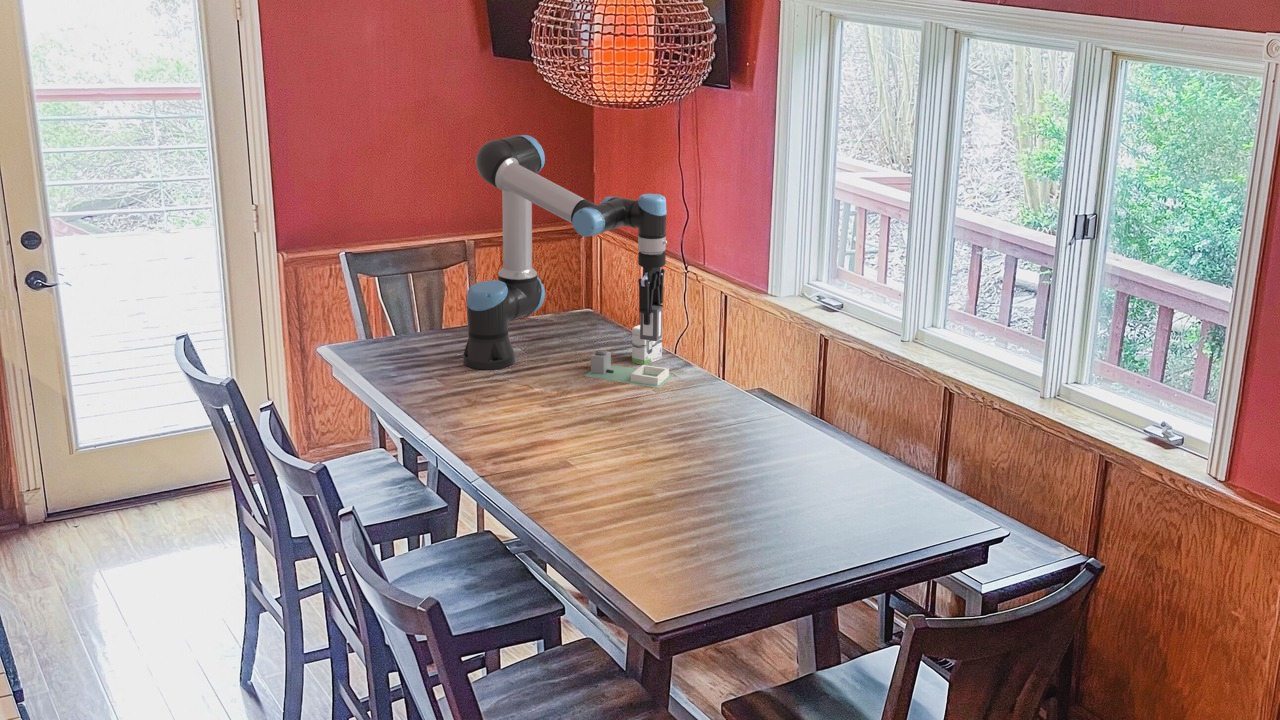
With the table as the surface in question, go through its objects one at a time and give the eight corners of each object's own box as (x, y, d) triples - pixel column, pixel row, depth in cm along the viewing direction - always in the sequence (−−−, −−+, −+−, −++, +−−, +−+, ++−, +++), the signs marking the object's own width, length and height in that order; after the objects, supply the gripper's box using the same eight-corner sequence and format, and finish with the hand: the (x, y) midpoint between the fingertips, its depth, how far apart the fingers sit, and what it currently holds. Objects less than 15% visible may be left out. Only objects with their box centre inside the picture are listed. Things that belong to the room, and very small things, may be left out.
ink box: (644, 369, 364) (644, 331, 360) (631, 365, 367) (631, 327, 363) (662, 362, 370) (663, 324, 366) (649, 358, 373) (650, 320, 369)
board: (583, 380, 355) (583, 376, 354) (601, 367, 365) (601, 363, 365) (658, 392, 346) (658, 388, 346) (674, 378, 357) (674, 374, 356)
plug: (640, 339, 348) (640, 308, 345) (645, 334, 352) (645, 304, 349) (656, 341, 346) (657, 310, 343) (662, 337, 350) (662, 306, 347)
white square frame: (630, 381, 351) (630, 374, 350) (643, 371, 359) (643, 364, 358) (657, 385, 348) (657, 378, 347) (669, 375, 356) (669, 368, 355)
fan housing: (590, 371, 358) (590, 353, 356) (598, 366, 362) (598, 348, 360) (610, 375, 355) (610, 356, 354) (617, 369, 360) (617, 351, 358)
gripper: (652, 259, 332) (651, 343, 340) (676, 245, 347) (674, 326, 355) (626, 256, 335) (626, 339, 342) (651, 243, 350) (650, 322, 357)
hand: (651, 332), depth 348 cm, fingers closed on plug, 4 cm apart
